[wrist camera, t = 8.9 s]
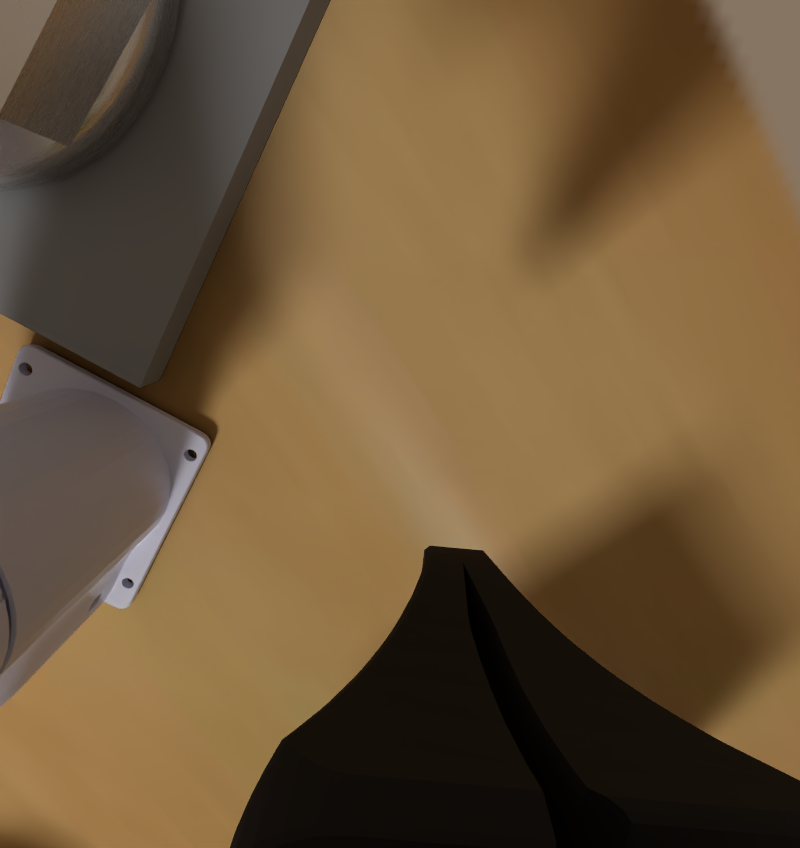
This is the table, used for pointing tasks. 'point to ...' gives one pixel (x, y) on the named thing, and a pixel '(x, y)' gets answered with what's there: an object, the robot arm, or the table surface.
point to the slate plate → (155, 192)
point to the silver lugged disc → (74, 80)
